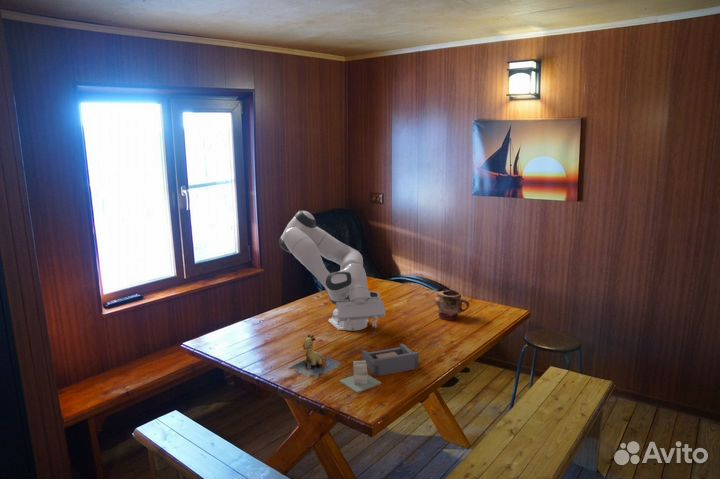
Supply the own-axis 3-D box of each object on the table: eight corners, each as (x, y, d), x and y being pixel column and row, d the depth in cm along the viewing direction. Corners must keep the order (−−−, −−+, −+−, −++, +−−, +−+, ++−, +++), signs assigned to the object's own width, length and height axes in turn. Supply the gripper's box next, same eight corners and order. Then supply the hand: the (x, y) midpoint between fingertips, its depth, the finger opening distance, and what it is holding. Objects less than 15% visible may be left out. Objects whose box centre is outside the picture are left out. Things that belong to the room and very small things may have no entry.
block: (353, 379, 215) (353, 361, 213) (365, 378, 216) (365, 360, 214) (354, 384, 211) (354, 366, 209) (367, 383, 211) (367, 365, 209)
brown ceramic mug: (473, 317, 283) (473, 292, 280) (465, 324, 272) (466, 299, 269) (437, 311, 292) (438, 287, 289) (429, 318, 282) (429, 293, 279)
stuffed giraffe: (288, 368, 228) (288, 333, 224) (318, 355, 241) (318, 322, 237) (314, 380, 217) (314, 344, 214) (344, 367, 231) (344, 332, 227)
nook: (362, 361, 233) (362, 346, 232) (403, 353, 239) (403, 339, 238) (375, 376, 218) (375, 360, 217) (418, 368, 225) (418, 353, 223)
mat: (339, 381, 215) (339, 380, 215) (363, 373, 222) (363, 371, 221) (357, 393, 205) (357, 391, 205) (381, 383, 212) (381, 382, 212)
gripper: (335, 296, 223) (338, 327, 216) (383, 293, 226) (388, 323, 218) (335, 303, 228) (338, 333, 221) (381, 299, 231) (386, 329, 224)
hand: (363, 328), depth 220 cm, fingers open, 8 cm apart
